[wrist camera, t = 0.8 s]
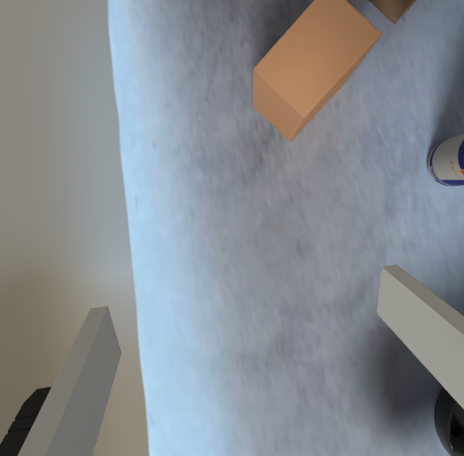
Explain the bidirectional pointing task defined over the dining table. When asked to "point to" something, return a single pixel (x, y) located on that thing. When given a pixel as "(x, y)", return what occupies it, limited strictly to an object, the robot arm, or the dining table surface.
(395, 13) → the tower base block
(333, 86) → the orange rectangular block
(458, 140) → the energy drink
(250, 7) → the dining table surface
